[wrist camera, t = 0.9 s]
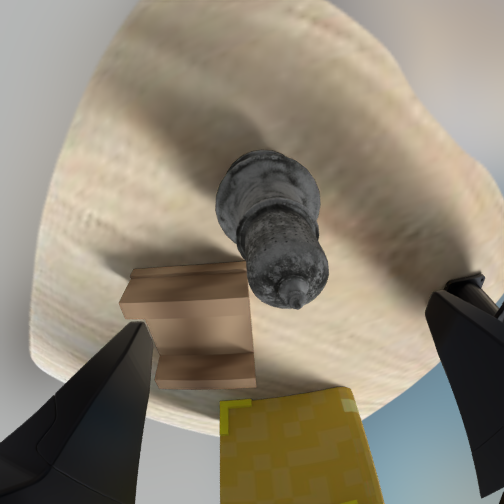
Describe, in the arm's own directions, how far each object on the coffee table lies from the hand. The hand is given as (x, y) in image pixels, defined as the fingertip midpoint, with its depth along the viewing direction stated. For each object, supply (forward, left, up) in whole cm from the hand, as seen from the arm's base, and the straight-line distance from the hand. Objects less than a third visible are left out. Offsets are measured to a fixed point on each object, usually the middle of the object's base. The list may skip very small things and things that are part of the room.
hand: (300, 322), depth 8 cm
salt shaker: (0, 0, -13) cm, 13 cm away
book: (-2, +28, -13) cm, 31 cm away
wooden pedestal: (+6, +11, -12) cm, 18 cm away
